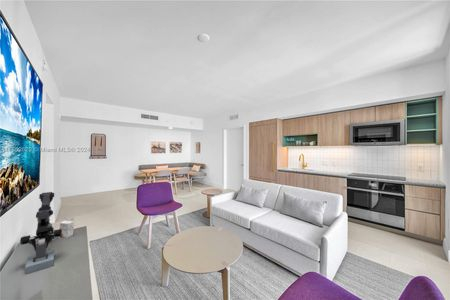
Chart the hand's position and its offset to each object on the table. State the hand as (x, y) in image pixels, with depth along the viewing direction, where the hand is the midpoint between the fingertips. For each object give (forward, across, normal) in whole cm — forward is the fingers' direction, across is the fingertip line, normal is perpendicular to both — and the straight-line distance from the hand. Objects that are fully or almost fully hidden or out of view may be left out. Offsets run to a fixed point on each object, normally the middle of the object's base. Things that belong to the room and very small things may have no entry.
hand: (41, 249), depth 110 cm
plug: (+4, 0, +6) cm, 7 cm away
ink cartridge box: (-21, +13, +36) cm, 43 cm away
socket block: (+6, 0, +8) cm, 10 cm away
